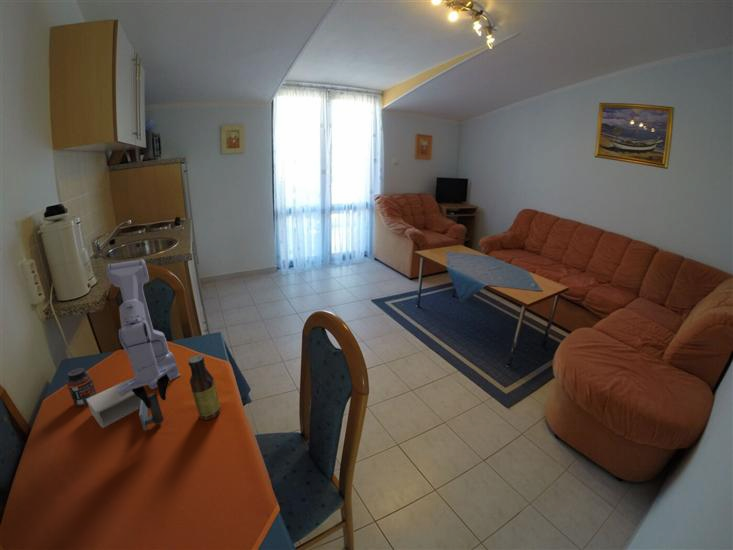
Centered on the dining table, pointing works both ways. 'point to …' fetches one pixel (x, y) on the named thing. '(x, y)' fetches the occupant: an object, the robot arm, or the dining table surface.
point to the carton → (112, 405)
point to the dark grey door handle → (155, 412)
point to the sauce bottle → (203, 389)
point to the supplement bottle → (80, 386)
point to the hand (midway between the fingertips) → (155, 402)
